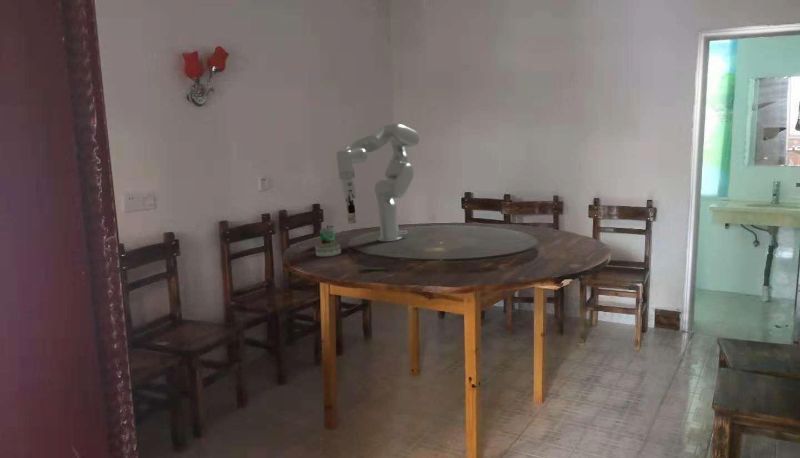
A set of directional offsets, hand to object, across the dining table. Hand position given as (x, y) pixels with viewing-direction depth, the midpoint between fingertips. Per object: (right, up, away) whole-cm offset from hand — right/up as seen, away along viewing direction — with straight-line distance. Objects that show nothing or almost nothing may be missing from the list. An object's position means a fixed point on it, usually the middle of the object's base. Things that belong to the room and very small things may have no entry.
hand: (351, 212), depth 309 cm
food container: (-12, -17, +20) cm, 29 cm away
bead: (-11, -20, 0) cm, 23 cm away
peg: (+1, -5, +1) cm, 5 cm away
